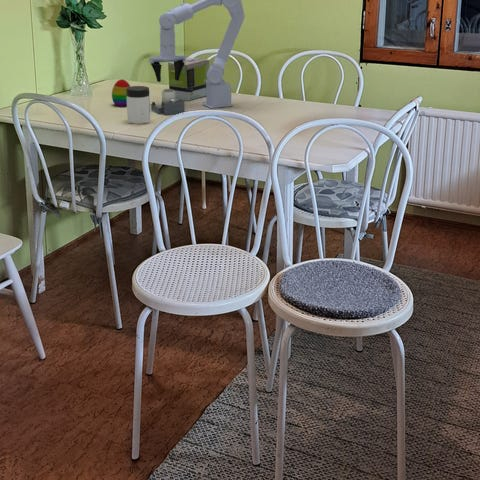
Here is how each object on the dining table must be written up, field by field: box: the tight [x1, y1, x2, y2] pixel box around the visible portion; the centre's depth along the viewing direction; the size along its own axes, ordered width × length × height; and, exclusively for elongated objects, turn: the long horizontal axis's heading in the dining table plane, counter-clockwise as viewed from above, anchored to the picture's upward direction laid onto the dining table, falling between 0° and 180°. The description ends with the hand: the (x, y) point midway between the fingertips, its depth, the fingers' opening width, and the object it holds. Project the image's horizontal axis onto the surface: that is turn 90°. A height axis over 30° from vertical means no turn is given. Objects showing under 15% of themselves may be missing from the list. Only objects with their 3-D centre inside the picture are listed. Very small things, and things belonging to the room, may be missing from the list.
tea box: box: [167, 57, 210, 102], centre depth 326 cm, size 15×10×15 cm
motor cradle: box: [150, 99, 186, 116], centre depth 302 cm, size 10×11×5 cm
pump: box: [161, 88, 175, 103], centre depth 312 cm, size 5×5×6 cm
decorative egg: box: [111, 79, 131, 107], centre depth 311 cm, size 8×8×10 cm
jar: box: [126, 85, 151, 125], centre depth 286 cm, size 9×8×12 cm
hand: (167, 80), depth 310 cm, fingers open, 7 cm apart
